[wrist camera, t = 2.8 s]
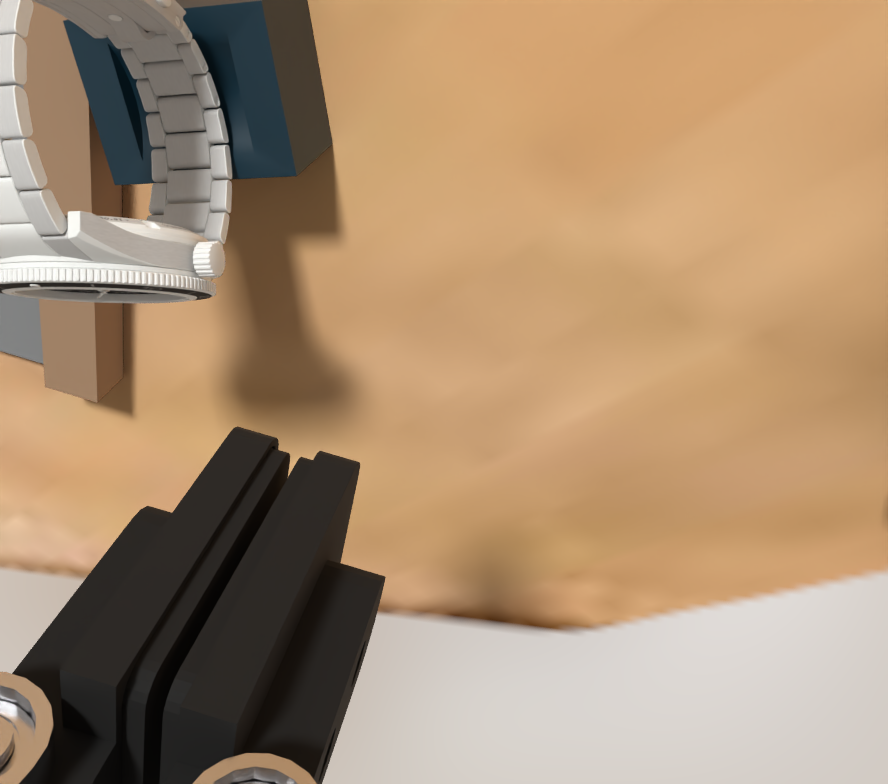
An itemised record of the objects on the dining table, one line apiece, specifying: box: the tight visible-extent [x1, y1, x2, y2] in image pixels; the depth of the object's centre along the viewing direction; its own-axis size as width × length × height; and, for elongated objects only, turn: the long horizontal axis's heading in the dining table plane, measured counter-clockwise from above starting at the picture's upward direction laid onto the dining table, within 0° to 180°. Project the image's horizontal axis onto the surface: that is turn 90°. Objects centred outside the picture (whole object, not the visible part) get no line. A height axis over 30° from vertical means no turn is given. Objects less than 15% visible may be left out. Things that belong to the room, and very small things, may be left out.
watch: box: [0, 0, 332, 303], centre depth 20 cm, size 6×8×11 cm
